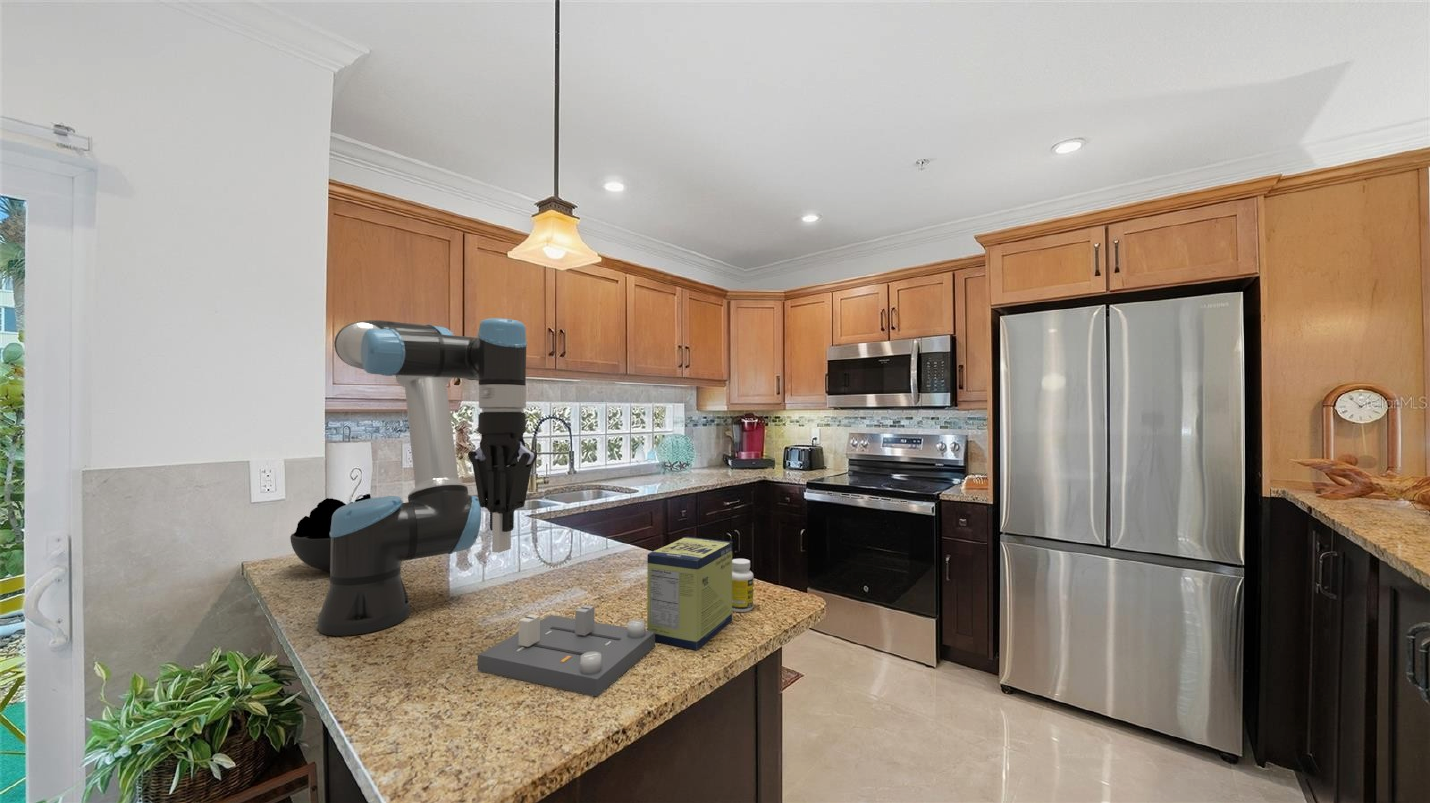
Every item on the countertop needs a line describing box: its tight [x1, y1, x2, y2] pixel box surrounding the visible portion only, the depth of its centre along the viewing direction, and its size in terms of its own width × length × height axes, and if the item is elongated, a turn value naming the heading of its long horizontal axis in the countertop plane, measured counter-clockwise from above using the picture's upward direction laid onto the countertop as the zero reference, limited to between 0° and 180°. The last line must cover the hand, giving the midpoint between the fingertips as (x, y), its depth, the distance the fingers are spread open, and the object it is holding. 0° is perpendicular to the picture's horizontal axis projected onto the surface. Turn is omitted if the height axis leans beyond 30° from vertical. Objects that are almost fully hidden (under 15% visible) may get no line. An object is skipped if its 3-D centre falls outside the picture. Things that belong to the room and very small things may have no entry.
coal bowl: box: [289, 493, 372, 572], centre depth 141 cm, size 20×20×19 cm
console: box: [477, 614, 656, 698], centre depth 90 cm, size 22×18×5 cm
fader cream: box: [518, 613, 541, 647], centre depth 90 cm, size 2×3×4 cm
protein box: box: [646, 536, 733, 651], centre depth 102 cm, size 10×16×16 cm
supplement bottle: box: [732, 558, 754, 613], centre depth 113 cm, size 5×5×10 cm
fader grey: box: [574, 604, 595, 636], centre depth 94 cm, size 2×3×4 cm
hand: (501, 550), depth 92 cm, fingers closed
